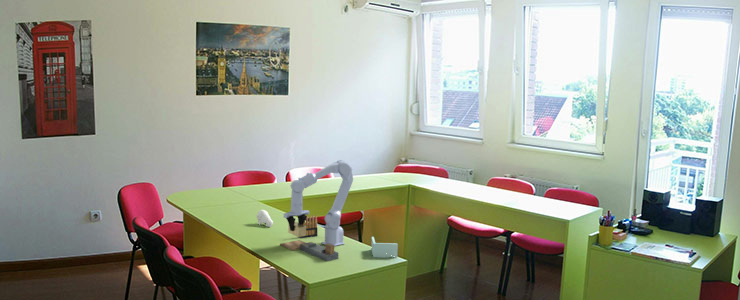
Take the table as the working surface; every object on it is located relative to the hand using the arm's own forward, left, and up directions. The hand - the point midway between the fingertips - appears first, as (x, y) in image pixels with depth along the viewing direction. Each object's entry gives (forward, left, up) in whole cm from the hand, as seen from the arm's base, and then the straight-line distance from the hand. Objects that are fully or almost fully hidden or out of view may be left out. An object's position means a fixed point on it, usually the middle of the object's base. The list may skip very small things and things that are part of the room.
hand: (296, 229), depth 289 cm
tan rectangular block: (0, +1, -2) cm, 2 cm away
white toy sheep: (-9, -43, -9) cm, 45 cm away
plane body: (-1, +18, -8) cm, 20 cm away
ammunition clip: (-15, -10, -9) cm, 20 cm away
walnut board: (0, 0, -8) cm, 8 cm away
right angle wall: (-29, +36, -9) cm, 47 cm away
